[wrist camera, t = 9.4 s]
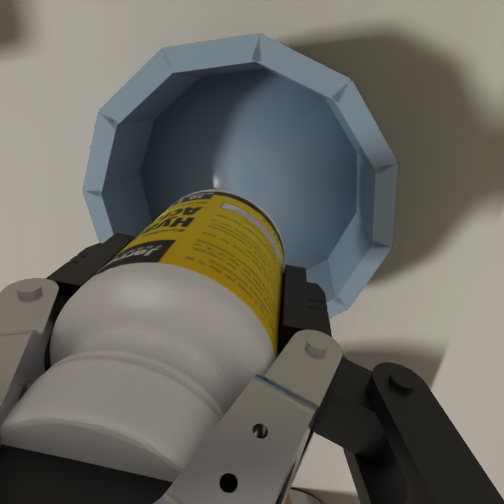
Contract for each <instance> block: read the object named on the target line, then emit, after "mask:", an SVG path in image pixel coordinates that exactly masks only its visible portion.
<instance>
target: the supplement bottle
mask: <svg viewBox="0 0 504 504" xmlns="http://www.w3.org/2000/svg"><path fill="white" fill-rule="evenodd" d="M283 273H284V245H283V241H282V237H281V234H280V232H279V229H278V227H277V225H276V224H275V222H274V221H273V219H272V218H271V216H270V215H269V214H268V213H267V212H266V211H265V210H264V209H263V208H262V207H261V206H259V205H258V204H257V203H255V202H254V201H252V200H251V199H249V198H247V197H245V196H243V195H241V194H238V193H235V192H232V191H227V190H218V189H210V190H202V191H198V192H195V193H192V194H189V195H187V196H185V197H183V198H181V199H180V200H178V201H177V202H175V203H174V204H173V205H172V206H170V207H169V208H168V209H167V210H166V211H165V212H164V213H162V214H161V215H160V216H159V217H158V218H157V219H156V220H155V221H154V222H153V223H152V224H150V225H149V226H148V227H147V228H146V229H145V230H144V231H143V232H141V233H140V234H139V235H138V236H137V237H136V238H135V239H134V240H132V241H131V242H130V243H129V244H128V245H127V246H126V247H125V248H124V249H123V250H122V251H120V252H119V253H118V254H117V255H116V256H115V257H114V258H113V259H112V260H110V261H109V262H108V263H107V264H106V265H105V266H103V267H102V268H101V269H100V270H99V271H98V272H97V273H95V274H94V275H93V276H92V277H91V278H90V279H89V280H88V281H87V282H86V283H85V284H84V285H83V286H81V287H80V289H79V290H78V291H77V292H76V293H75V294H74V295H73V296H72V297H71V298H70V299H69V300H68V301H67V303H66V304H65V306H64V307H63V309H62V310H61V312H60V314H59V315H58V317H57V320H56V322H55V324H54V328H53V331H52V335H51V340H50V361H51V367H50V368H49V369H48V370H47V371H46V372H45V373H44V374H42V375H41V376H40V377H39V378H38V379H37V380H36V381H35V382H34V383H33V384H32V385H31V386H30V387H29V389H28V390H27V391H26V393H25V394H24V395H23V396H22V398H21V399H20V400H19V401H18V402H17V403H16V405H15V406H14V407H13V408H12V410H11V411H10V412H9V413H8V415H7V416H6V418H5V420H4V421H3V423H2V426H1V436H2V439H3V442H2V445H7V446H12V447H17V448H21V449H26V450H31V451H36V452H40V453H45V454H50V455H55V456H59V457H64V458H69V459H73V460H78V461H82V462H86V463H91V464H95V465H100V466H104V467H108V468H113V469H117V470H122V471H126V472H131V473H135V474H139V475H144V476H148V477H153V478H157V479H161V480H165V481H169V482H174V481H175V479H176V478H177V477H178V476H179V474H180V473H181V472H182V470H183V469H184V468H185V466H186V465H187V464H188V462H189V461H190V460H191V458H192V457H193V456H194V455H195V453H196V452H197V451H198V449H199V448H200V447H201V445H202V444H203V443H204V441H205V440H206V439H207V437H208V436H209V435H210V433H211V432H212V431H213V430H214V428H215V427H216V426H217V424H218V423H219V422H220V420H221V419H222V418H223V416H224V415H225V414H226V412H227V411H228V410H229V409H230V407H231V406H232V405H233V403H234V402H235V401H236V399H237V398H238V397H239V395H240V394H241V393H242V391H243V390H244V389H245V388H246V386H247V385H248V384H249V382H250V381H251V380H252V378H253V377H254V376H255V375H257V374H260V375H262V376H264V375H265V374H266V373H267V371H268V370H269V368H270V367H271V366H272V364H273V363H274V362H275V360H276V359H277V349H278V337H279V325H280V311H281V298H282V284H283Z"/></svg>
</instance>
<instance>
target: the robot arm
mask: <svg viewBox="0 0 504 504" xmlns="http://www.w3.org/2000/svg"><path fill="white" fill-rule="evenodd" d="M136 237H137V236H132V235H126V234H121V233H115V234H114V235H113V236H111V237H110V238H109V239H108V240H106V241H105V242H104V243H98V244H95V245H93V246H90V247H87V248H85V249H84V250H83V251H82V252H80V253H79V254H78V255H77V256H75V257H74V258H72V259H71V260H70V262H67V263H66V264H64V265H63V266H62V267H60V268H59V269H58V270H56V271H55V272H54V273H52V274H51V275H50V276H49V277H47V278H46V279H43V278H32V279H25V280H21V281H18V282H15V283H12V284H10V285H8V286H7V287H5V288H4V289H3V290H2V291H1V293H0V504H284V503H285V501H286V498H287V496H288V493H289V496H290V499H291V502H292V504H322V503H321V502H320V501H319V500H317V499H316V498H314V497H313V496H310V495H308V494H306V493H303V492H300V491H297V490H292V489H290V488H291V486H292V483H293V481H294V479H295V476H296V474H297V472H298V469H299V467H300V465H301V462H302V460H303V458H304V455H305V453H306V451H307V449H308V446H309V444H310V442H311V439H312V437H313V435H314V432H315V433H317V434H319V435H321V436H323V437H324V438H326V439H328V440H330V441H332V442H334V443H336V444H338V445H340V446H341V447H343V449H344V453H345V456H346V459H347V462H348V466H349V469H350V472H351V475H352V478H353V481H354V484H355V487H356V490H357V493H358V496H359V499H360V502H361V504H504V500H503V498H502V497H501V496H500V494H499V492H498V491H497V489H496V488H495V486H494V485H493V484H492V482H491V480H490V479H489V477H488V476H487V474H486V473H485V471H484V470H483V468H482V467H481V465H480V464H479V462H478V461H477V459H476V458H475V456H474V455H473V453H472V452H471V450H470V449H469V447H468V446H467V444H466V443H465V441H464V440H463V438H462V437H461V435H460V434H459V432H458V431H457V430H456V428H455V426H454V425H453V423H452V422H451V420H450V419H449V418H448V416H447V414H446V413H445V412H444V410H443V408H442V407H441V405H440V404H439V402H438V401H437V400H436V398H435V397H434V395H433V394H432V392H431V390H430V389H429V387H428V386H427V385H426V383H425V382H424V381H423V380H422V379H421V378H420V377H419V376H418V375H417V374H416V373H414V372H413V371H411V370H410V369H408V368H406V367H404V366H402V365H399V364H395V363H380V364H378V365H377V366H375V368H374V369H373V372H372V371H370V370H368V369H365V368H363V367H361V366H359V365H356V364H354V363H352V362H351V361H349V360H347V359H346V358H345V357H343V356H342V350H341V347H340V346H339V344H338V343H337V342H336V341H335V340H334V339H333V338H332V335H331V329H330V322H329V315H328V312H327V310H328V309H327V304H326V296H325V292H324V291H323V290H322V288H321V287H320V286H319V285H318V284H316V283H311V282H307V277H306V268H303V267H298V266H292V265H287V264H286V265H285V269H284V273H283V284H282V298H281V311H280V325H279V337H278V349H277V359H276V360H275V362H274V363H273V364H272V366H271V367H270V368H269V370H268V371H267V373H266V374H265V375H264V376H262V375H260V374H257V375H255V376H254V377H253V378H252V380H251V381H250V382H249V384H248V385H247V386H246V388H245V389H244V390H243V391H242V393H241V394H240V395H239V397H238V398H237V399H236V401H235V402H234V403H233V405H232V406H231V407H230V409H229V410H228V411H227V412H226V414H225V415H224V416H223V418H222V419H221V420H220V422H219V423H218V424H217V426H216V427H215V428H214V430H213V431H212V432H211V433H210V435H209V436H208V437H207V439H206V440H205V441H204V443H203V444H202V445H201V447H200V448H199V449H198V451H197V452H196V453H195V455H194V456H193V457H192V458H191V460H190V461H189V462H188V464H187V465H186V466H185V468H184V469H183V470H182V472H181V473H180V474H179V476H178V477H177V478H176V479H175V481H174V482H169V481H165V480H161V479H157V478H153V477H148V476H144V475H139V474H135V473H131V472H126V471H122V470H117V469H113V468H108V467H104V466H100V465H95V464H91V463H86V462H82V461H78V460H73V459H69V458H64V457H59V456H55V455H50V454H45V453H40V452H36V451H31V450H26V449H21V448H17V447H12V446H7V445H2V442H3V439H2V436H1V426H2V423H3V421H4V420H5V418H6V416H7V415H8V413H9V412H10V411H11V410H12V408H13V407H14V406H15V405H16V403H17V402H18V401H19V400H20V399H21V398H22V396H23V395H24V394H25V393H26V391H27V390H28V389H29V387H30V386H31V385H32V384H33V383H34V382H35V381H36V380H37V379H38V378H39V377H40V376H41V375H42V374H44V373H45V372H46V371H47V370H48V369H49V368H50V367H51V361H50V340H51V335H52V331H53V328H54V324H55V322H56V320H57V317H58V315H59V314H60V312H61V310H62V309H63V307H64V306H65V304H66V303H67V301H68V300H69V299H70V298H71V297H72V296H73V295H74V294H75V293H76V292H77V291H78V290H79V289H80V287H81V286H83V285H84V284H85V283H86V282H87V281H88V280H89V279H90V278H91V277H92V276H93V275H94V274H95V273H97V272H98V271H99V270H100V269H101V268H102V267H103V266H105V265H106V264H107V263H108V262H109V261H110V260H112V259H113V258H114V257H115V256H116V255H117V254H118V253H119V252H120V251H122V250H123V249H124V248H125V247H126V246H127V245H128V244H129V243H130V242H131V241H132V240H134V239H135V238H136Z"/></svg>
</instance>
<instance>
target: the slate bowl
mask: <svg viewBox="0 0 504 504" xmlns="http://www.w3.org/2000/svg"><path fill="white" fill-rule="evenodd" d="M99 111H100V112H98V115H97V120H96V125H95V130H94V135H93V140H92V145H91V150H90V155H89V160H88V165H87V170H86V175H85V180H84V185H83V194H84V197H85V200H86V203H87V206H88V209H89V212H90V215H91V219H92V222H93V225H94V228H95V231H96V234H97V237H98V240H99V243H104V242H105V241H106V240H108V239H109V238H110V237H111V236H113V235H114V234H115V233H121V234H126V235H132V236H138V235H139V234H140V233H141V232H143V231H144V230H145V229H146V228H147V227H148V226H149V225H150V224H152V223H153V222H154V221H155V220H156V219H157V218H158V217H159V216H160V215H161V214H162V213H164V212H165V211H166V210H167V209H168V208H169V207H170V206H172V205H173V204H174V203H175V202H177V201H178V200H180V199H181V198H183V197H185V196H187V195H189V194H192V193H195V192H198V191H202V190H210V189H218V190H227V191H232V192H235V193H238V194H241V195H243V196H245V197H247V198H249V199H251V200H252V201H254V202H255V203H257V204H258V205H259V206H261V207H262V208H263V209H264V210H265V211H266V212H267V213H268V214H269V215H270V216H271V218H272V219H273V221H274V222H275V224H276V225H277V227H278V229H279V232H280V234H281V237H282V241H283V245H284V269H285V265H286V264H287V265H292V266H298V267H303V268H306V277H307V282H311V283H316V284H318V285H319V286H320V287H321V288H322V290H323V291H324V292H325V296H326V304H327V309H328V310H327V312H328V315H329V318H331V317H333V316H335V315H337V314H339V313H341V312H343V311H345V310H347V309H348V308H350V306H351V305H352V304H353V302H354V301H355V299H356V298H357V297H358V295H359V294H360V292H361V291H362V290H363V288H364V287H365V285H366V284H367V283H368V281H369V280H370V278H371V277H372V276H373V274H374V273H375V271H376V270H377V269H378V267H379V266H380V264H381V263H382V262H383V260H384V259H385V257H386V256H387V255H388V253H389V252H390V250H391V249H392V247H393V234H394V220H395V206H396V192H397V178H398V164H397V163H398V161H397V160H396V158H395V156H394V154H393V152H392V151H391V149H390V147H389V145H388V143H387V142H386V140H385V138H384V136H383V134H382V133H381V131H380V129H379V127H378V126H377V124H376V122H375V120H374V118H373V117H372V115H371V113H370V111H369V109H368V108H367V106H366V104H365V102H364V100H363V99H362V97H361V95H360V93H359V91H358V90H357V88H356V86H355V84H354V83H353V81H352V80H351V81H350V78H348V77H346V76H344V75H342V74H340V73H338V72H336V71H334V70H332V69H330V68H328V67H326V66H324V65H322V64H320V63H318V62H316V61H314V60H312V59H310V58H308V57H306V56H304V55H302V54H300V53H298V52H296V51H294V50H293V49H291V48H289V47H287V46H285V45H283V44H281V43H279V42H277V41H275V40H273V39H271V38H269V37H267V36H265V35H263V34H261V35H260V34H259V33H257V34H251V35H244V36H237V37H231V38H224V39H218V40H211V41H204V42H198V43H191V44H185V45H178V46H171V47H165V48H163V49H160V50H159V51H158V52H157V53H156V54H155V55H154V56H153V57H152V58H151V59H150V60H149V61H148V62H147V63H146V64H145V65H144V66H143V67H142V68H141V69H140V70H139V71H138V72H137V73H136V74H135V75H134V76H133V77H132V78H131V79H130V80H129V81H128V82H127V83H126V84H125V85H124V86H123V87H122V88H121V89H120V90H119V91H118V92H117V93H116V94H115V95H114V96H113V97H112V98H111V99H110V100H109V101H108V102H107V103H106V104H105V105H104V106H103V107H102V108H101V109H100V110H99Z"/></svg>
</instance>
